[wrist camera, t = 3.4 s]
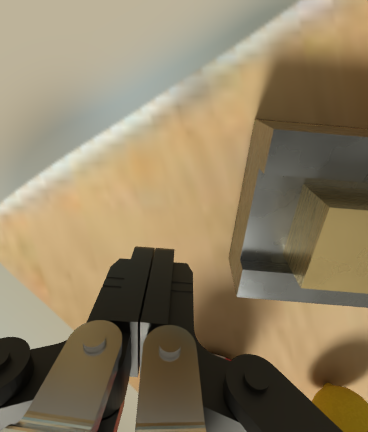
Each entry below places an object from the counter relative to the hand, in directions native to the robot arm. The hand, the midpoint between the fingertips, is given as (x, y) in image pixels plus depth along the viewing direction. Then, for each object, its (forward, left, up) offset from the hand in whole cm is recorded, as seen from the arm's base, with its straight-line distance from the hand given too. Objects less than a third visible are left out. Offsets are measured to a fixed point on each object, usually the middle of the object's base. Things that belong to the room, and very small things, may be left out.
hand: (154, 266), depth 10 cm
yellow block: (-10, 0, -5) cm, 11 cm away
